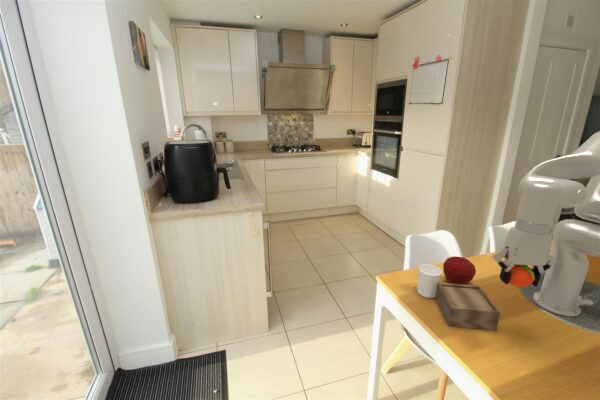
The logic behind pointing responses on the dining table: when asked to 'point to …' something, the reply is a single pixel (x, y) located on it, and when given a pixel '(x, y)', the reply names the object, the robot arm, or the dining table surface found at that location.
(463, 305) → the walnut stand
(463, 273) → the apple
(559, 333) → the dining table surface
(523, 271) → the clementine
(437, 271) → the white cup
